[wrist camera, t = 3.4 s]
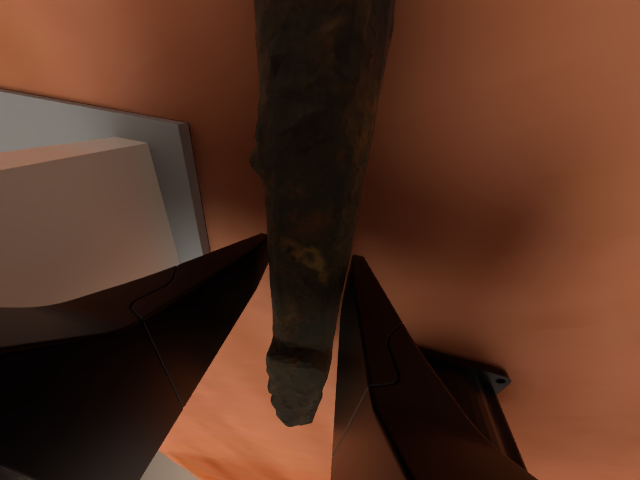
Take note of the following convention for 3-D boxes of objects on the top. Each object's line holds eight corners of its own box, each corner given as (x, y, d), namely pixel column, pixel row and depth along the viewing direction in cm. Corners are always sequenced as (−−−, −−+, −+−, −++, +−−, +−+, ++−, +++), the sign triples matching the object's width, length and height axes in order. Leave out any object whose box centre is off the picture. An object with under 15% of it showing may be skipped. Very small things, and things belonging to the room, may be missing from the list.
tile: (147, 142, 10) (-322, 229, 3) (180, 265, 14) (-4, 420, 7) (112, 136, 10) (-401, 204, 3) (154, 258, 14) (-49, 403, 7)
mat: (187, 122, 10) (177, 124, 9) (214, 277, 15) (208, 284, 14) (-38, 81, 11) (-57, 81, 10) (56, 237, 16) (46, 241, 15)
